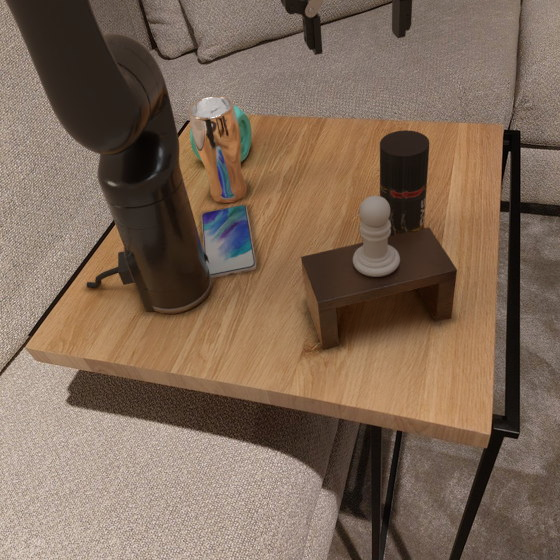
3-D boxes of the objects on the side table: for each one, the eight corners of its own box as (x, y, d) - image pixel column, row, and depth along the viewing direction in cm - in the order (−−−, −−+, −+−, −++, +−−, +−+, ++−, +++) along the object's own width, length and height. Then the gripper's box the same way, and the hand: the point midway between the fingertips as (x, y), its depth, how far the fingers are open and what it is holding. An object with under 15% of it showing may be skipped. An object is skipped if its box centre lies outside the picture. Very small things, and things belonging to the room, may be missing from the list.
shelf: (322, 349, 69) (317, 302, 64) (306, 302, 75) (300, 256, 69) (451, 318, 70) (457, 269, 65) (425, 274, 76) (429, 226, 71)
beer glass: (202, 204, 93) (180, 119, 83) (214, 179, 98) (194, 95, 88) (245, 205, 92) (228, 118, 81) (254, 179, 96) (239, 94, 86)
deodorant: (422, 251, 79) (428, 156, 69) (378, 250, 81) (377, 156, 70) (423, 224, 83) (430, 130, 73) (381, 222, 85) (381, 130, 74)
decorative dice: (213, 142, 107) (204, 101, 101) (254, 145, 104) (247, 104, 99) (196, 167, 101) (185, 125, 96) (238, 170, 99) (230, 128, 93)
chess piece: (346, 273, 66) (343, 210, 60) (360, 244, 70) (358, 181, 64) (392, 282, 64) (394, 218, 58) (405, 251, 68) (407, 187, 62)
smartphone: (205, 277, 80) (200, 212, 91) (206, 281, 81) (202, 217, 92) (256, 266, 80) (246, 203, 91) (258, 271, 81) (247, 207, 92)
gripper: (419, -174, 51) (412, 17, 62) (260, -146, 50) (281, 43, 61) (455, -164, 46) (439, 44, 57) (276, -132, 45) (296, 72, 56)
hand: (357, 43), depth 59 cm, fingers open, 8 cm apart
